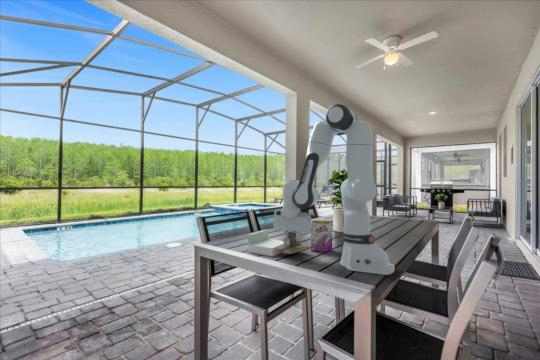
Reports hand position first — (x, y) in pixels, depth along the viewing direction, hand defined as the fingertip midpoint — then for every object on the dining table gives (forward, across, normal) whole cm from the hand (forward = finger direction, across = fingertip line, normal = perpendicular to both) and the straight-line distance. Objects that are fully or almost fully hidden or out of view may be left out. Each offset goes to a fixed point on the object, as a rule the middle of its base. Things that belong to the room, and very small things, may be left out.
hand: (292, 239), depth 133 cm
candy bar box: (+8, -10, -16) cm, 20 cm away
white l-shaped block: (+7, +14, 0) cm, 16 cm away
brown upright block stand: (+5, 0, 0) cm, 5 cm away
